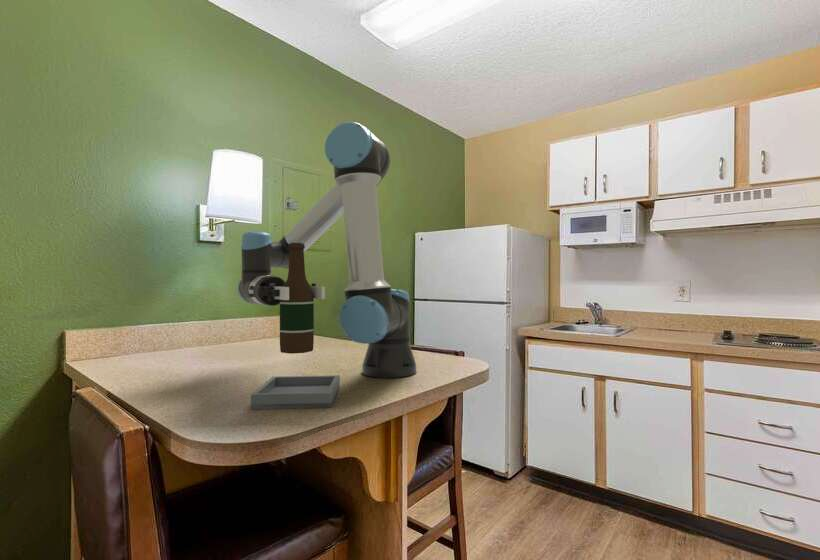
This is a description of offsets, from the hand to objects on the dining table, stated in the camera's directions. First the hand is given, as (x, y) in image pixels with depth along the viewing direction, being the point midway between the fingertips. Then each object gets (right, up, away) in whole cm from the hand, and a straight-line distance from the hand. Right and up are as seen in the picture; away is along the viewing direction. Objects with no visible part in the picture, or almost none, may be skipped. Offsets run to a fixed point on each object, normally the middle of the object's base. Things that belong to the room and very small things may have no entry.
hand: (305, 293), depth 90 cm
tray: (-2, -23, +4) cm, 24 cm away
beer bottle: (-3, -13, +4) cm, 14 cm away
